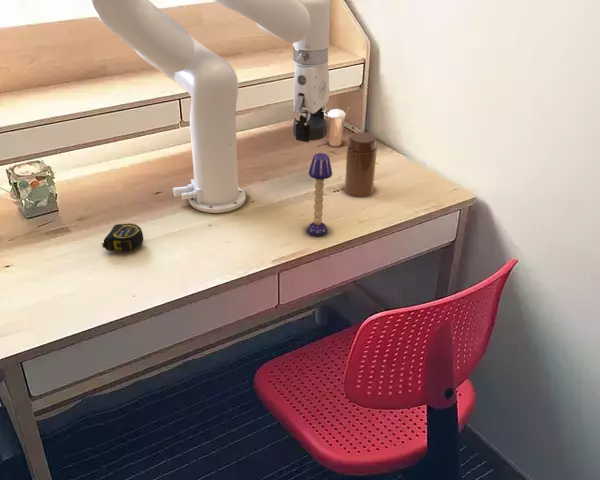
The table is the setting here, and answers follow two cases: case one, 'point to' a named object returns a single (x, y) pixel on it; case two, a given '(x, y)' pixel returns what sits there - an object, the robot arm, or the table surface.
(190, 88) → the robot arm
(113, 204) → the table surface
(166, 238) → the table surface
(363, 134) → the jar
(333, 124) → the milkshake
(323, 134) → the cap
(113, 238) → the tape measure
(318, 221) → the toy lamp
